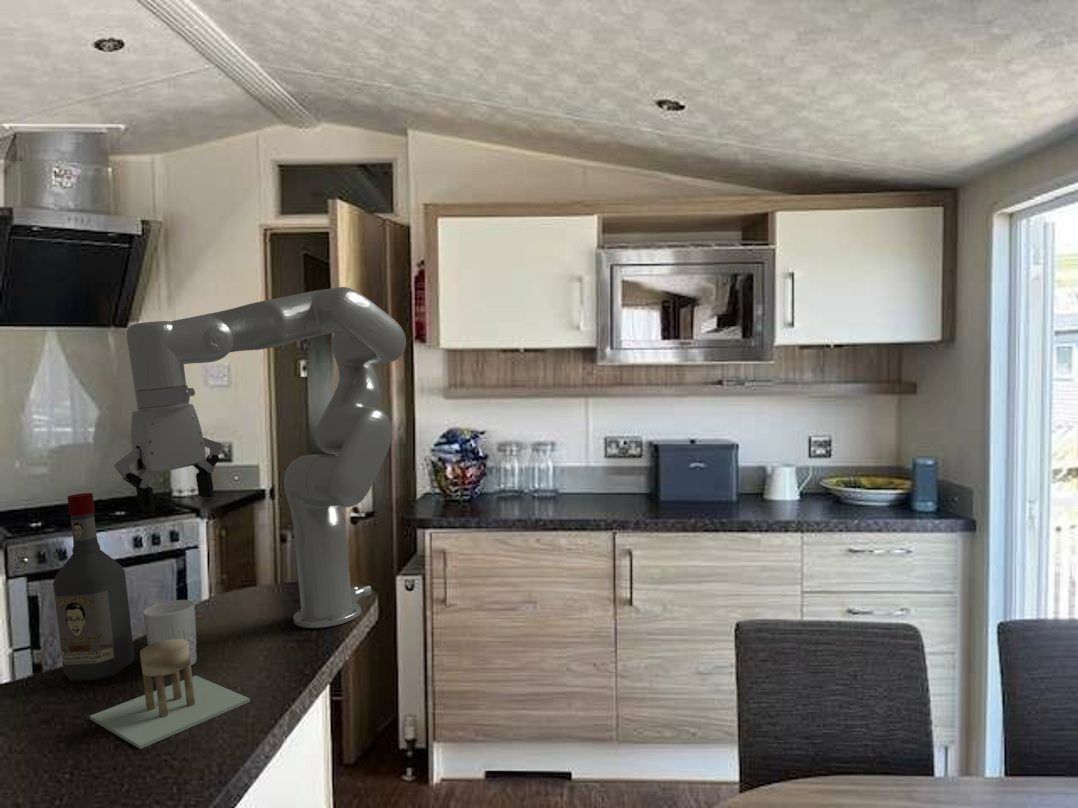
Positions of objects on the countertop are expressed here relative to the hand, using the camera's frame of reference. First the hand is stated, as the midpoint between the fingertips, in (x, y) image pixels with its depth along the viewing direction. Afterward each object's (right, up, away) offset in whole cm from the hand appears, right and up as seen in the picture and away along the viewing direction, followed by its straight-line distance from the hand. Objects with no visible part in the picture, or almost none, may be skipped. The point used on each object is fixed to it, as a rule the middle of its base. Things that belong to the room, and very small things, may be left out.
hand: (178, 503), depth 129 cm
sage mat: (+4, -29, -12) cm, 31 cm away
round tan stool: (+4, -28, -12) cm, 31 cm away
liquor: (-16, -29, +6) cm, 34 cm away
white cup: (-3, -28, +6) cm, 29 cm away
